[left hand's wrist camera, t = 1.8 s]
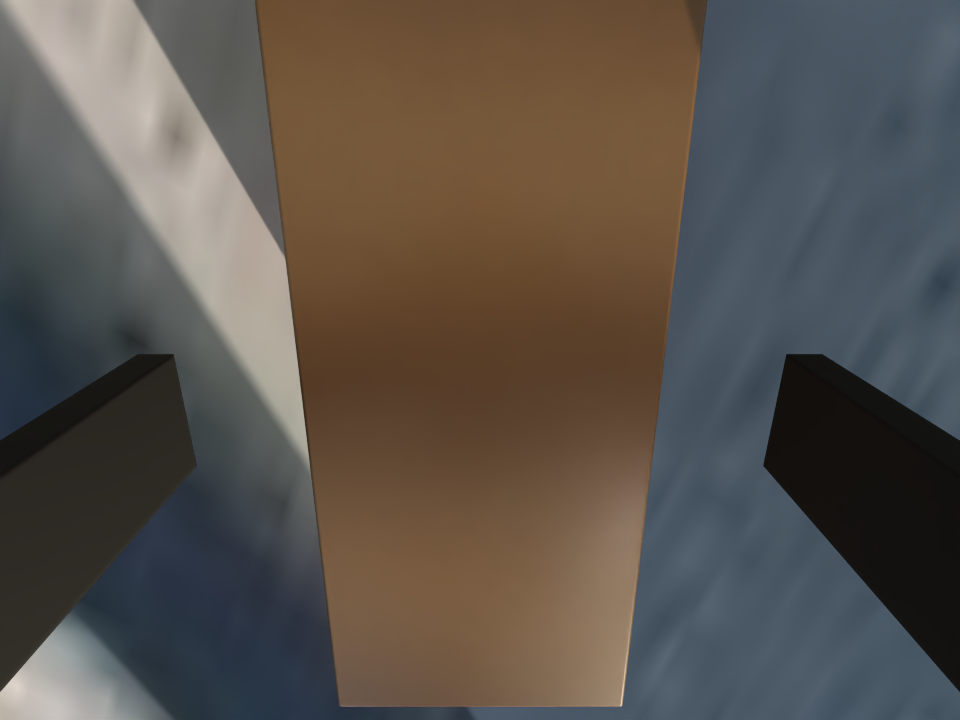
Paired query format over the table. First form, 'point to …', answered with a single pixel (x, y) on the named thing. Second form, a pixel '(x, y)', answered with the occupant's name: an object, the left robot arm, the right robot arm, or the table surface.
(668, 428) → the table surface
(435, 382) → the bar
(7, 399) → the table surface
